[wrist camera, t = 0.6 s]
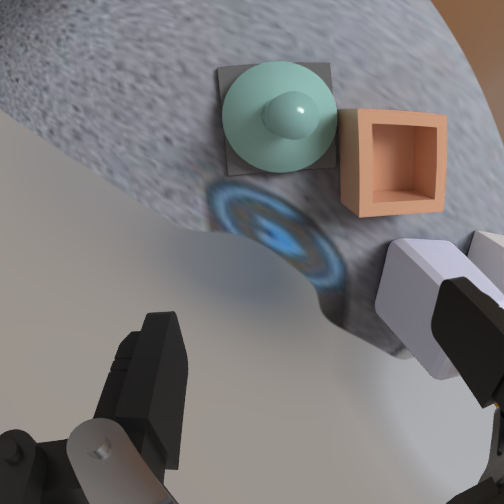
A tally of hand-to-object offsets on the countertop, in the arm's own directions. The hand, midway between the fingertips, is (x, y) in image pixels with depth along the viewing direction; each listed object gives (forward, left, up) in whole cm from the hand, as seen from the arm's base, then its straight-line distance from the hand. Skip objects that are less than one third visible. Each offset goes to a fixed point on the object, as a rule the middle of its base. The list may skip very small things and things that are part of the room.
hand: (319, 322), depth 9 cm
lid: (-6, +2, -21) cm, 22 cm away
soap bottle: (+12, +19, -22) cm, 32 cm away
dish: (-2, +12, -22) cm, 25 cm away
